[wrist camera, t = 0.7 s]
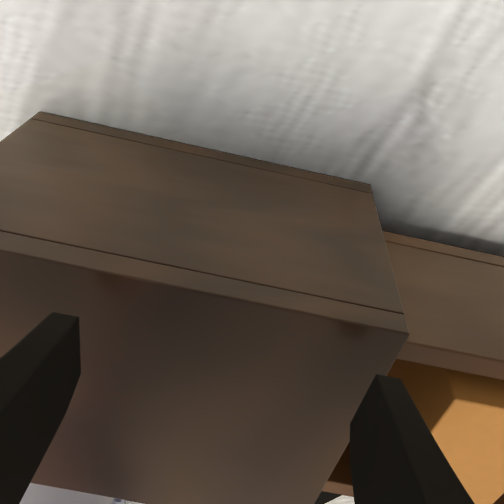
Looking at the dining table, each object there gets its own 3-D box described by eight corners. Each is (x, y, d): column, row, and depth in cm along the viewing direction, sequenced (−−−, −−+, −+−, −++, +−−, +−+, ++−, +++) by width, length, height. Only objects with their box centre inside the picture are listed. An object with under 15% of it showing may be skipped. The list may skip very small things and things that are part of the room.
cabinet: (370, 184, 20) (410, 334, 13) (298, 367, 26) (298, 532, 19) (39, 111, 19) (-114, 227, 12) (52, 318, 26) (-40, 471, 19)
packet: (508, 299, 20) (575, 423, 15) (445, 388, 23) (484, 513, 19) (416, 279, 20) (455, 400, 15) (367, 372, 23) (385, 495, 18)
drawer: (722, 284, 20) (884, 426, 14) (575, 427, 26) (650, 566, 21) (337, 200, 19) (352, 317, 14) (277, 368, 25) (272, 496, 20)
